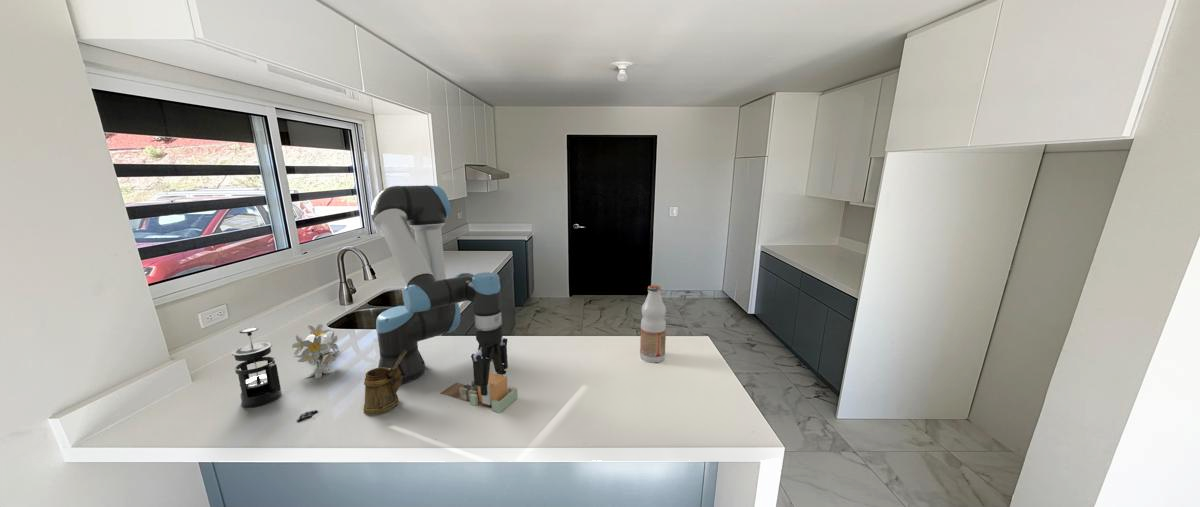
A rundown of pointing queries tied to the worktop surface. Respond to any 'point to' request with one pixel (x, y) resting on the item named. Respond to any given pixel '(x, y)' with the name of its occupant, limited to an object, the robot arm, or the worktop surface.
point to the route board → (463, 393)
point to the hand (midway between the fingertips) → (493, 398)
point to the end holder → (498, 405)
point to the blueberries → (306, 415)
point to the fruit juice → (653, 326)
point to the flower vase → (317, 349)
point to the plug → (493, 387)
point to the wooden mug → (382, 388)
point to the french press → (258, 382)
